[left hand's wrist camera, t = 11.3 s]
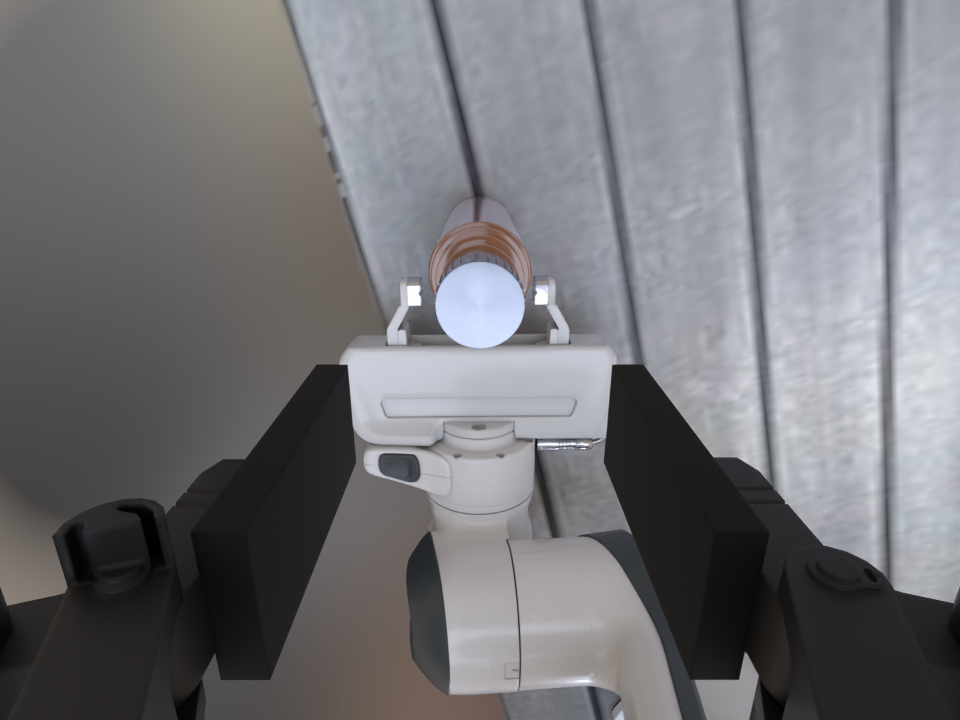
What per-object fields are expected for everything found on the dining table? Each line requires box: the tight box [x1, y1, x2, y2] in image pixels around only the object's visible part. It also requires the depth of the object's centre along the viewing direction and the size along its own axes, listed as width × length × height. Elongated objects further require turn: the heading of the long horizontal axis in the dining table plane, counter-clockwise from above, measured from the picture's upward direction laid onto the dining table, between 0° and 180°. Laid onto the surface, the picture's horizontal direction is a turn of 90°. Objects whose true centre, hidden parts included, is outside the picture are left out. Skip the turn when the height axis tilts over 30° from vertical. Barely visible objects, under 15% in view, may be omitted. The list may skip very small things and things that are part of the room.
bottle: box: [429, 196, 531, 297], centre depth 35 cm, size 6×6×23 cm
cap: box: [434, 251, 526, 349], centre depth 25 cm, size 4×4×2 cm
